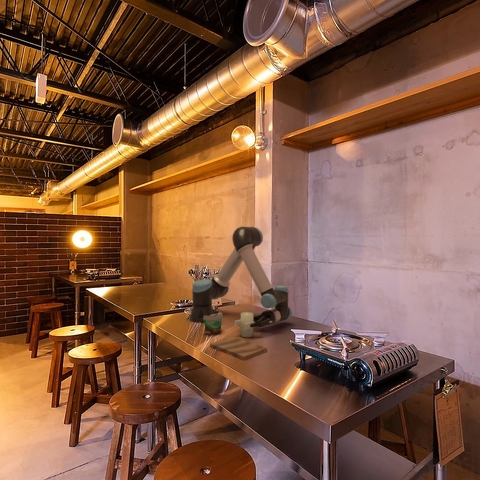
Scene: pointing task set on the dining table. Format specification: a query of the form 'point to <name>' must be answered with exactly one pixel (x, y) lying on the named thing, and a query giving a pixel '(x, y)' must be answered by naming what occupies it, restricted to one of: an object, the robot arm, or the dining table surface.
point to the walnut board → (238, 348)
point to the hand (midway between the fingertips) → (239, 325)
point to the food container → (213, 323)
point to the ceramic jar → (245, 318)
